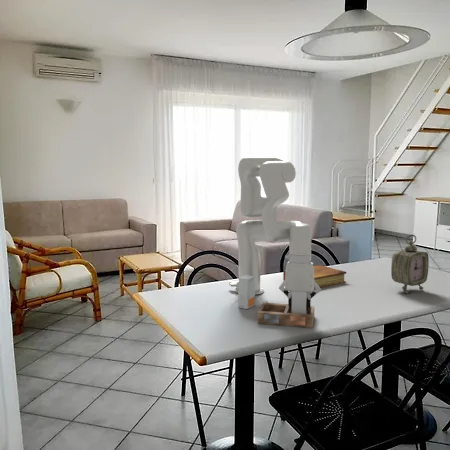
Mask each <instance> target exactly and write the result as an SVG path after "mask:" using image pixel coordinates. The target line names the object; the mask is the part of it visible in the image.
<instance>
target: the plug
mask: <svg viewBox="0 0 450 450" xmlns="http://www.w3.org/2000/svg"><path fill="white" fill-rule="evenodd" d="M306 300H307V292H297V291H292V313H296V314H307V310H306Z"/></svg>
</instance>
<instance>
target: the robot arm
mask: <svg viewBox="0 0 450 450" xmlns="http://www.w3.org/2000/svg"><path fill="white" fill-rule="evenodd" d="M237 167H238V168H237V173H238V177H239V181H240V203H239V204H240V209H239V210H240V213H241V215H242V217H244V218H261V219H252V220H251V219H250V220H249V219H248V220H243V221H241V222H239V223H238V224H237V226H236V230H235V231H236V232H235V234H236V239H237V247H238V249H237V250H238V279H239V278H240V277H242V276H245V275H249V276H255V296H256V295H261V294H263V293H264V292H265V289H264V288H263V287H262V286H261V251H260V248H259V247H258V246H257V244H256V243H259V242H272V243H286V242H288V243H289V244H288V245H289V246H288V247H289V248H288V249H289V250H288V252H289V253H288V254H285V255H284V259H285V260H288V261H287V262H286V266H285V271H286V272H285V281H284V280H283V282H282V283H281V284H280V285H279V286H278V290H280V291H281V292H283V294H284V295H285V297H287V298H288V303H287V304H288V306H290V310H292V291H297V292H307V300H306V310H307V311H308V309H309V308H310V306H312V305H311V303H312V302H311V301H312V300H311V299H313V298H314V297H315V296H316V295H317V294H319V293H320V292H321V291H322V289H321V288H320V287H319V286H318V285H317V283H316V282H315V281H314V267H313V266H314V262H312V226H311V225H310V224H309V223H303V222H301V221H299V220H281V221H280V220H279V221H277V217H278V216H277V214H278V212H277V211H278V206H280V205H282V204H283V203H285V202H286V201H287V200H288V199H289V197H290V193H289V190H288V187H287V184H288V183H292V182H293V181H294V180H295V178H296V175H297V173H296V168H295V166H294V165H293V163H292V161H290V160H287V159H285V158H283V157H280V156H275V155H249V156H244V157H243V158H241V159H240V160H239V163H238V166H237ZM257 177H260V181H261V182H260V181H259V179H258V178H257ZM286 183H287V184H286ZM261 184H262V186H261ZM262 187H263V191H264V194H262V193H261V191H262ZM229 286H230V287H231V288H232V287H235V289H234V290H235V291H234V292H235V293H236V294H238V295H239V280H236V281H234V280H230V281H229ZM314 287H315V289H314Z"/></svg>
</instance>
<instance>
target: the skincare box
mask: <svg viewBox="0 0 450 450" xmlns="http://www.w3.org/2000/svg"><path fill="white" fill-rule="evenodd" d="M238 281H239V294H238V308H239V309H244V310H248V309H250V308H252V307H255V300H256V299H255V296H256V295H255V276H249V275H245V276H242V277H240V278H239V277H238Z"/></svg>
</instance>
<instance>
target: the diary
mask: <svg viewBox="0 0 450 450" xmlns="http://www.w3.org/2000/svg"><path fill="white" fill-rule="evenodd" d="M313 267H314V281H315V282H316V283H317V285H318V286H319V287H320V289H321V288H326V287H330V286H334V285H339V284H345V283H347V281H346V280H345V275H346V274H347V271H345V270H341V269H336V268H334V267H329V266H325V265H322V264H321V265H320V264H318V265H313ZM285 272H286V270H284V271H283V275H282V276H283V278H282V279H283V282H284V281H285ZM314 290H316V289H315V287H314Z"/></svg>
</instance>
